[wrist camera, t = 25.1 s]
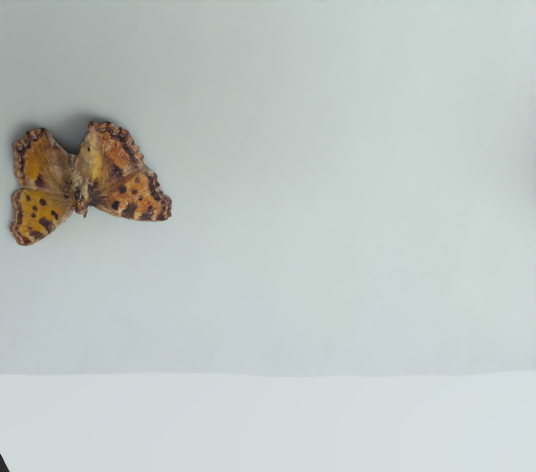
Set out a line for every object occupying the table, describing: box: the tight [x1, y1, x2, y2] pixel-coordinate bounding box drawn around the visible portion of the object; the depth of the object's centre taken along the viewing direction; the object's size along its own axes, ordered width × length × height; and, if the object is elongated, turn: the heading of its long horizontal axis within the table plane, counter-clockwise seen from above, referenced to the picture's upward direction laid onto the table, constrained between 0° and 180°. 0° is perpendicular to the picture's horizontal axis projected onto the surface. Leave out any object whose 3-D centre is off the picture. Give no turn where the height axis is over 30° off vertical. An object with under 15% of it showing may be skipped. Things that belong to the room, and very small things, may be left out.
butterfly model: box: [10, 121, 172, 246], centre depth 37 cm, size 9×12×3 cm
